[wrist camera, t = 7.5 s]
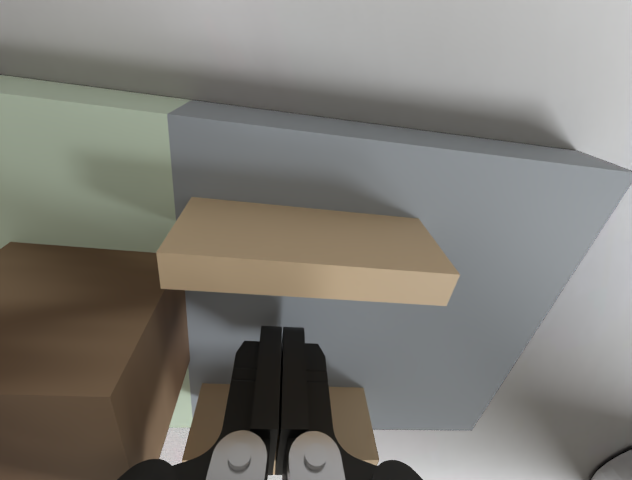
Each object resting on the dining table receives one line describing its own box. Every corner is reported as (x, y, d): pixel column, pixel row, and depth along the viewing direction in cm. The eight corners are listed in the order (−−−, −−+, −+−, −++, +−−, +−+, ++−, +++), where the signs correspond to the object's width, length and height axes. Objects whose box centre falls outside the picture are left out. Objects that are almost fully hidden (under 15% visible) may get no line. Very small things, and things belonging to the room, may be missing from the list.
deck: (577, 151, 12) (754, 216, 8) (451, 387, 19) (503, 498, 15) (-217, 46, 9) (-746, 48, 5) (-27, 374, 16) (-158, 510, 11)
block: (182, 254, 11) (110, 396, 6) (190, 359, 13) (141, 513, 9) (10, 241, 10) (-199, 390, 6) (52, 354, 12) (-72, 517, 8)
